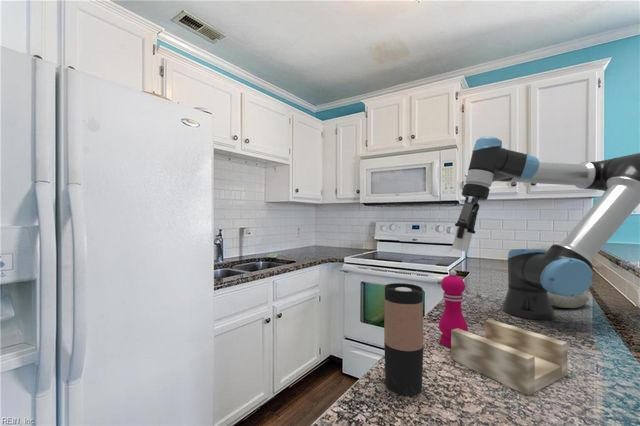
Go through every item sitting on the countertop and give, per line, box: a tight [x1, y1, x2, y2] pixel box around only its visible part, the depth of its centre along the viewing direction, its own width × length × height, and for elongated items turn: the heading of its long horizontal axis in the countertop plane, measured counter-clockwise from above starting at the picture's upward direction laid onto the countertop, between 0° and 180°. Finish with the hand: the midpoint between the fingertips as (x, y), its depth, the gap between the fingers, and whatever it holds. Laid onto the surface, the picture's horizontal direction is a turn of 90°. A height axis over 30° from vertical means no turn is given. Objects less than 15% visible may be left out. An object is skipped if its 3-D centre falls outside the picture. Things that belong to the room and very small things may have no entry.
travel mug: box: [383, 282, 424, 397], centre depth 61 cm, size 8×8×20 cm
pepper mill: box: [438, 269, 469, 349], centre depth 81 cm, size 7×7×20 cm
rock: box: [548, 292, 590, 309], centre depth 117 cm, size 8×11×20 cm
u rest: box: [450, 318, 569, 397], centre depth 69 cm, size 17×16×7 cm
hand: (460, 250), depth 95 cm, fingers open, 13 cm apart
